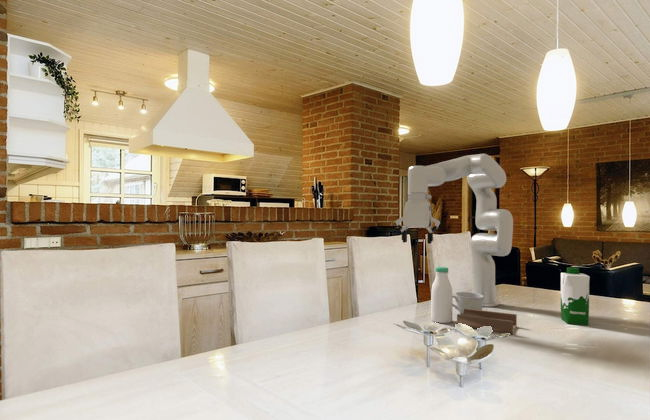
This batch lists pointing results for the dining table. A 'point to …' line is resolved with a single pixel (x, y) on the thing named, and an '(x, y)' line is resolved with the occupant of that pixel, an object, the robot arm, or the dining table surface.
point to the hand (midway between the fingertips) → (417, 242)
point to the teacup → (468, 301)
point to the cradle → (489, 320)
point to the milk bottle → (441, 297)
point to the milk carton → (575, 297)
